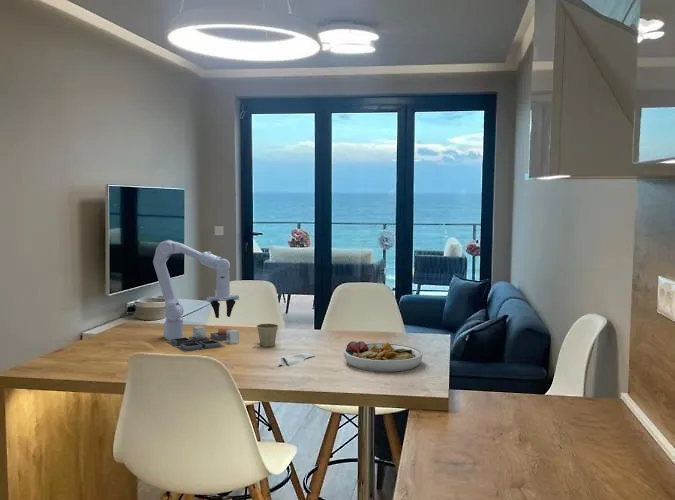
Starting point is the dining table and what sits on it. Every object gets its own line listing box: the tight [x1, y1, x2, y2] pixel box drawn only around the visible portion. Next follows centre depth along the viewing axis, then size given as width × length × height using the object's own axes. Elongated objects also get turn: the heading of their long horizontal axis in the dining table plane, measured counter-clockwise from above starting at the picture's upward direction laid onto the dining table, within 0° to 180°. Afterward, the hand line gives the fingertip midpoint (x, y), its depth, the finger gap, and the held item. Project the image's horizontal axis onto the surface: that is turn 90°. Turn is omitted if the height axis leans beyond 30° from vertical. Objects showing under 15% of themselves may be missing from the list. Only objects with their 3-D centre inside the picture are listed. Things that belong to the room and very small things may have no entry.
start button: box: [217, 327, 228, 335], centre depth 277 cm, size 4×4×2 cm
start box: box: [210, 331, 226, 342], centre depth 278 cm, size 8×8×3 cm
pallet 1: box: [165, 335, 211, 348], centre depth 269 cm, size 10×18×2 cm, turn 125°
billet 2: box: [225, 329, 240, 345], centre depth 269 cm, size 4×4×6 cm
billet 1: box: [192, 325, 206, 339], centre depth 271 cm, size 4×4×6 cm
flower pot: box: [256, 323, 279, 348], centre depth 269 cm, size 9×9×9 cm
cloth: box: [277, 352, 315, 368], centre depth 245 cm, size 26×14×2 cm, turn 139°
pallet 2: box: [175, 339, 226, 353], centre depth 260 cm, size 10×18×2 cm, turn 125°
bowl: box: [343, 340, 423, 373], centre depth 241 cm, size 30×30×8 cm
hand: (222, 317), depth 277 cm, fingers open, 5 cm apart
